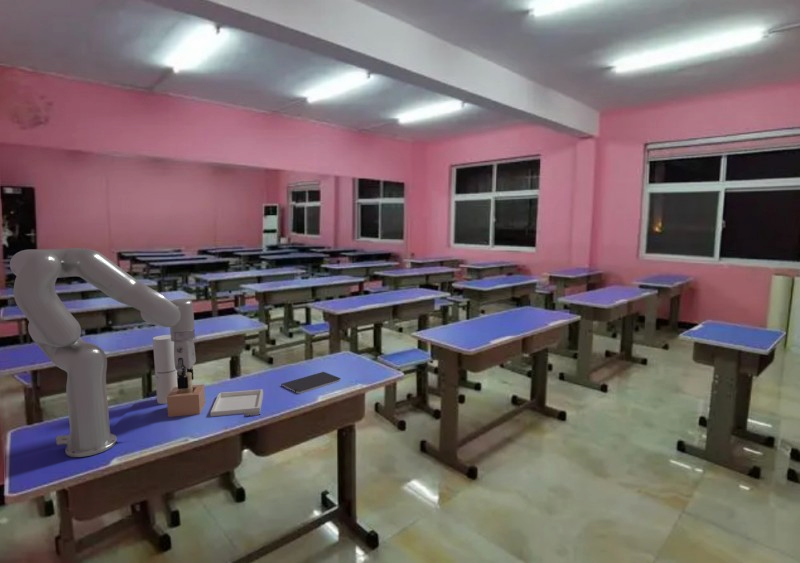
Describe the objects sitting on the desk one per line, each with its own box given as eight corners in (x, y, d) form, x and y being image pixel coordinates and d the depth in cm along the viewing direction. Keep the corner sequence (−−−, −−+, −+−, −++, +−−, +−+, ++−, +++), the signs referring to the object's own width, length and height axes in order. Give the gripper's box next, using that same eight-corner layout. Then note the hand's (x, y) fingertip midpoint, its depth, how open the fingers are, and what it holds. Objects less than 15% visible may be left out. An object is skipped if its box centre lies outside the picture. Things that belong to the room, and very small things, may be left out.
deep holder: (168, 419, 149) (166, 397, 148) (175, 407, 159) (174, 386, 158) (199, 416, 151) (198, 394, 150) (205, 405, 161) (204, 384, 160)
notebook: (323, 374, 196) (281, 387, 180) (323, 371, 195) (281, 383, 180) (341, 381, 187) (298, 395, 172) (341, 378, 187) (298, 391, 171)
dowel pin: (179, 412, 152) (177, 376, 151) (182, 407, 156) (180, 372, 155) (192, 411, 153) (190, 375, 152) (194, 406, 157) (192, 371, 156)
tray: (210, 419, 149) (210, 412, 149) (219, 399, 167) (219, 392, 166) (259, 414, 153) (259, 407, 153) (263, 395, 170) (262, 389, 170)
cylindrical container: (169, 407, 159) (165, 340, 156) (152, 405, 161) (148, 339, 158) (183, 399, 166) (179, 335, 163) (166, 398, 168) (162, 334, 164)
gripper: (188, 340, 144) (192, 392, 146) (199, 328, 161) (202, 375, 163) (163, 342, 142) (167, 394, 144) (177, 329, 159) (180, 376, 161)
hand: (185, 383), depth 154 cm, fingers open, 7 cm apart
